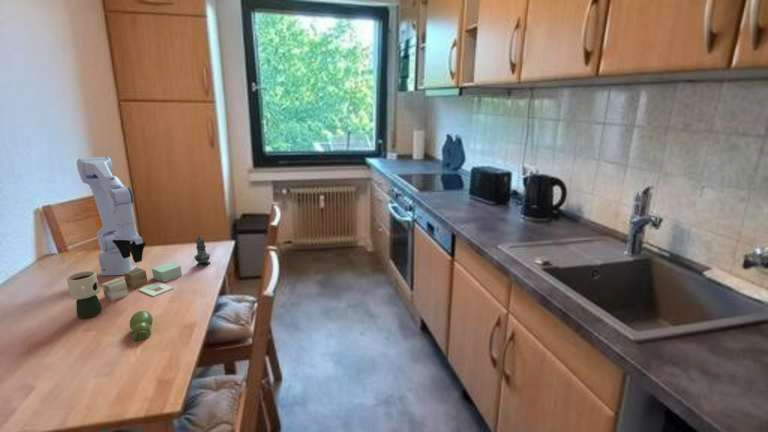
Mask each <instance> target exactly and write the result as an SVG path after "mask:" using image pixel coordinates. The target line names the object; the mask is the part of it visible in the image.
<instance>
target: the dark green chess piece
mask: <svg viewBox="0 0 768 432" xmlns="http://www.w3.org/2000/svg"><path fill="white" fill-rule="evenodd" d="M195 240H196V242H195V243H196V247H195V249H196V251H197V253H196V255H195V256H193V257H194V259H195V261H196V262H197V263H196V264H195V266H196V267H199V268H203V267H208V266H210V265H211V262H210V261H209V260H210V257H211V254H210V253H207V251H206V244H205V239H204V238H203V237H201V236H200V235H199V236H198V238H196V239H195Z"/></svg>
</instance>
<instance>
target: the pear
mask: <svg viewBox="0 0 768 432" xmlns="http://www.w3.org/2000/svg"><path fill="white" fill-rule="evenodd" d="M152 325H153V315H152V314H151V313H150V312H149V311H146V310H140V311H137V312H135V313H134V314H133V315H132V316H131V318H130V320H129V328H130V329H131V338H132V340H133V341H134V342H135V341H142V340H146V339H149V337H150V336H151V335H152V332H151V326H152Z"/></svg>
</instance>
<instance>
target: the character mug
mask: <svg viewBox="0 0 768 432" xmlns="http://www.w3.org/2000/svg"><path fill="white" fill-rule="evenodd" d="M66 281H67V287H68V291H69V294H70V298H71V299H73V300H76V301H75V303H76V305H75V306H76V316H77V317H78V318H87V317H93V316H97V315H98V314H101V312H103V308H102V304H101V302H100V299H99V298H98V295H97V294H99V293H100V292H101V291H100V284H99V281H98V277H97V272H96V271H95V270H94V271H93V270H87V271H85V270H84V271H78V272H76V273H75V272H74V273H73V274H71V275H68V276H67V278H66Z"/></svg>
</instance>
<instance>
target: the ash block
mask: <svg viewBox="0 0 768 432" xmlns="http://www.w3.org/2000/svg"><path fill="white" fill-rule="evenodd" d="M101 285H102V290H103V294H104V295H103V296H104V298H105V299H108V300H109V301H111V302H113V301H116V300H119V299H121V298H125V297H127V296H129V292H128V286H127V285H126V282H125V280H123V279H121V278H115V279H112V280H109V281H106V282H103V283H101Z"/></svg>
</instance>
